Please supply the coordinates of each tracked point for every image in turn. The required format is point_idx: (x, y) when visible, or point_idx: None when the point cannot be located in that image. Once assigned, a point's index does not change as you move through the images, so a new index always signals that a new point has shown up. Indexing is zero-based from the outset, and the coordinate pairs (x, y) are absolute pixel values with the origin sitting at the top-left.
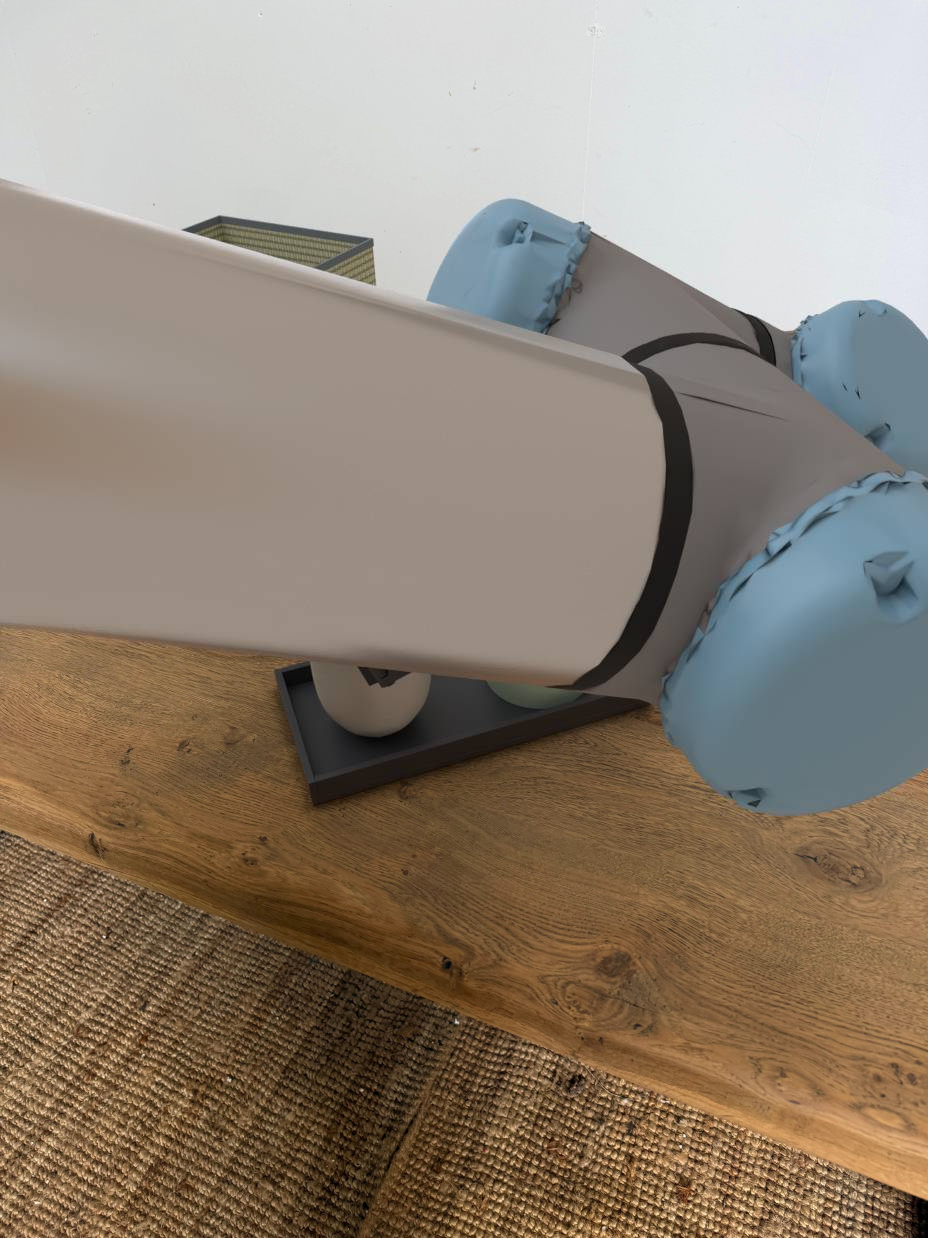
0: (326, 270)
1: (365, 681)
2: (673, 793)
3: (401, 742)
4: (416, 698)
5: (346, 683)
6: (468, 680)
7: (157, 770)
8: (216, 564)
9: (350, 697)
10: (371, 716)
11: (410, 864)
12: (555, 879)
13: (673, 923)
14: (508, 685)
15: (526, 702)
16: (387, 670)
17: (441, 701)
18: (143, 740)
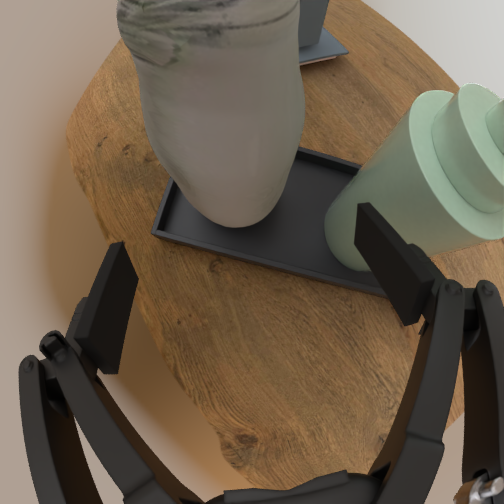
0: None
1: (198, 203)
2: (364, 373)
3: (235, 228)
4: (246, 224)
5: (185, 194)
6: (314, 205)
7: (107, 159)
8: None
9: (190, 201)
10: (207, 216)
11: (184, 319)
12: (256, 384)
13: (292, 439)
14: (332, 239)
15: (336, 255)
16: (47, 397)
17: (284, 211)
18: (113, 134)
